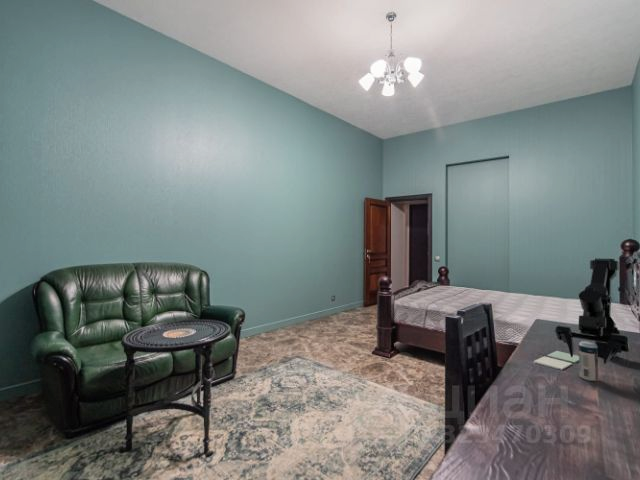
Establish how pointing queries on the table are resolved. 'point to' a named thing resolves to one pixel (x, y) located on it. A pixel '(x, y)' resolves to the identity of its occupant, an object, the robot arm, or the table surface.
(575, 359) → the sage coaster
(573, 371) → the table surface
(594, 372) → the cream labeled canister
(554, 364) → the cream coaster
